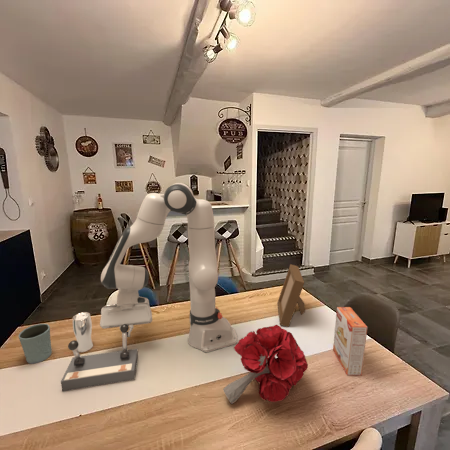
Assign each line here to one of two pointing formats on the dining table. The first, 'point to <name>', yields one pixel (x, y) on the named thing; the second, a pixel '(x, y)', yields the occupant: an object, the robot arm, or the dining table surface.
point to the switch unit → (100, 370)
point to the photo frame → (290, 296)
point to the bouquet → (268, 364)
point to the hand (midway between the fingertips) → (126, 337)
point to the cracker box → (349, 340)
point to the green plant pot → (36, 343)
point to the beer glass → (83, 331)
